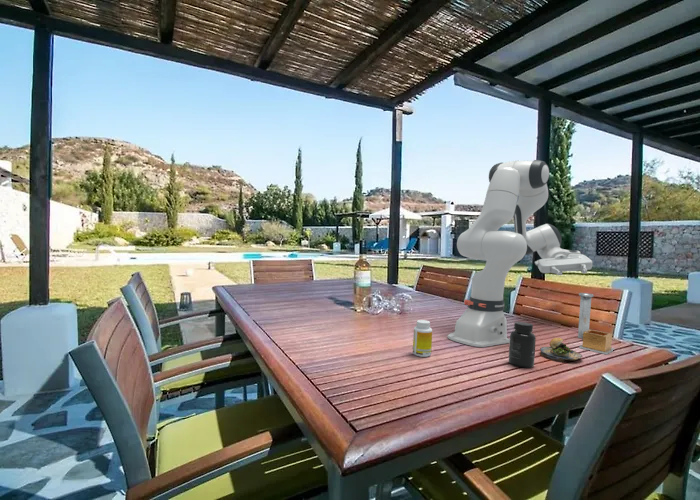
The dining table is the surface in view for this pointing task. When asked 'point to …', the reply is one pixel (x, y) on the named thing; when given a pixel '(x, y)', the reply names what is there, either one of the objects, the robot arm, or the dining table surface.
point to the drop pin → (584, 313)
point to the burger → (559, 351)
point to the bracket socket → (597, 341)
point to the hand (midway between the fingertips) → (572, 272)
